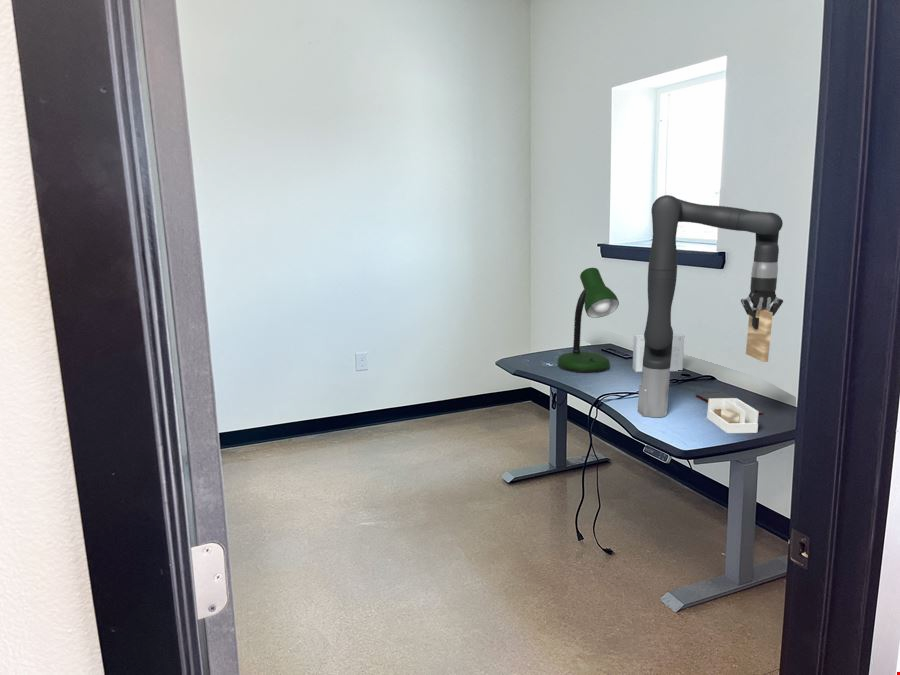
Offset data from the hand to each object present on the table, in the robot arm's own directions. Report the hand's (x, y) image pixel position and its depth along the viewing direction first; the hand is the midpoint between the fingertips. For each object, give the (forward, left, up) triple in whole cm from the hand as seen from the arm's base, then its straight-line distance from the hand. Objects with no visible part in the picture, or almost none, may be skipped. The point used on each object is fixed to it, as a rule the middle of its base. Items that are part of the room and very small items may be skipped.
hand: (759, 328), depth 213 cm
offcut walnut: (-9, +3, -33) cm, 34 cm away
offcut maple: (-9, -3, -30) cm, 31 cm away
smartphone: (+3, +21, -34) cm, 40 cm away
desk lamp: (-36, +74, -33) cm, 89 cm away
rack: (-7, -1, -33) cm, 33 cm away
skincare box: (-6, +70, -33) cm, 78 cm away
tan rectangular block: (0, 0, -10) cm, 10 cm away
